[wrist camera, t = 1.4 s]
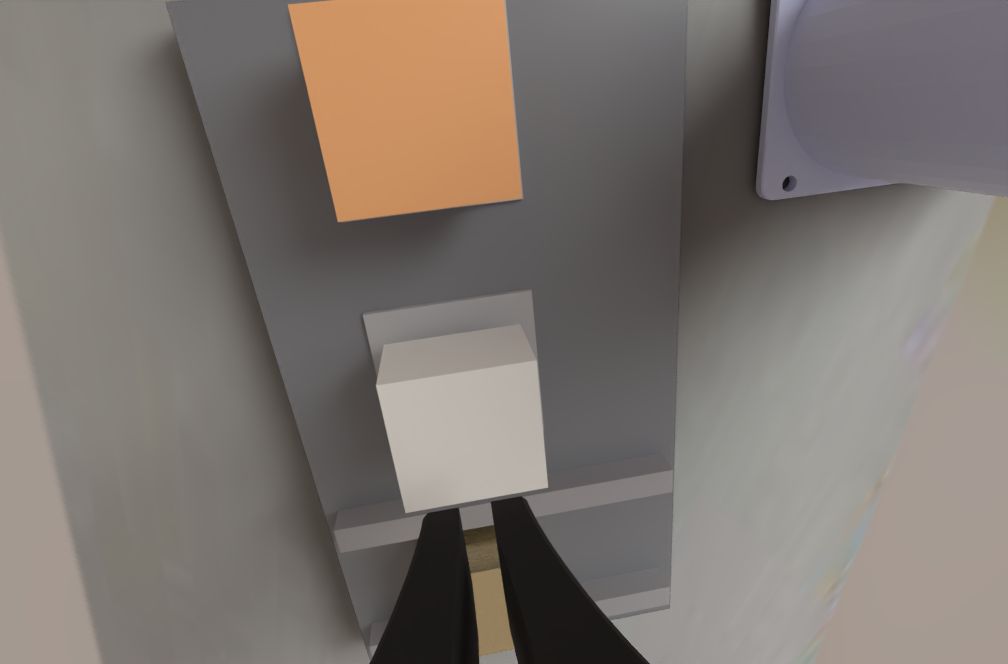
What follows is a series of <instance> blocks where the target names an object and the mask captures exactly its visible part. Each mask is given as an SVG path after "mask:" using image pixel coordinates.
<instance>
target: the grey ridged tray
mask: <svg viewBox="0 0 1008 664" xmlns="http://www.w3.org/2000/svg"><path fill="white" fill-rule="evenodd" d="M319 1H330V0H181V1H170V2H165V3H166V6H167V10H168V13H169V16H170V19H171V22H172V26H173V29H174V32H175V35H176V38H177V42H178V45H179V48H180V51H181V55H182V58H183V61H184V64H185V67H186V71H187V74H188V77H189V80H190V83H191V87H192V90H193V93H194V96H195V100H196V103H197V106H198V109H199V112H200V116H201V119H202V122H203V125H204V128H205V132H206V135H207V138H208V141H209V145H210V148H211V151H212V154H213V157H214V161H215V164H216V167H217V170H218V173H219V177H220V180H221V183H222V186H223V190H224V193H225V196H226V199H227V202H228V206H229V209H230V212H231V215H232V218H233V222H234V225H235V228H236V231H237V235H238V238H239V241H240V244H241V247H242V251H243V254H244V257H245V260H246V263H247V267H248V270H249V273H250V276H251V280H252V283H253V286H254V289H255V292H256V296H257V299H258V302H259V305H260V308H261V312H262V315H263V318H264V321H265V325H266V328H267V331H268V334H269V337H270V341H271V344H272V347H273V350H274V353H275V357H276V360H277V363H278V366H279V370H280V373H281V376H282V379H283V382H284V386H285V389H286V392H287V395H288V398H289V402H290V405H291V408H292V411H293V415H294V418H295V421H296V424H297V427H298V431H299V434H300V437H301V440H302V443H303V447H304V450H305V453H306V456H307V460H308V463H309V466H310V469H311V472H312V476H313V479H314V482H315V485H316V488H317V492H318V495H319V498H320V501H321V505H322V508H323V511H324V514H325V517H326V521H327V524H328V527H329V530H330V533H331V537H332V540H333V543H334V546H335V550H336V553H337V556H338V559H339V562H340V566H341V569H342V572H343V575H344V578H345V582H346V585H347V588H348V591H349V595H350V598H351V601H352V604H353V607H354V611H355V614H356V617H357V620H358V623H359V627H360V630H361V633H362V636H363V640H364V643H365V646H366V649H367V652H368V656H369V659H370V662H371V660H372V657H373V655H374V653H375V651H376V648H377V646H378V644H379V642H380V639H381V637H382V635H383V633H384V630H385V628H386V626H387V624H388V622H389V619H390V617H391V615H392V612H393V610H394V607H395V604H396V602H397V599H398V597H399V594H400V591H401V589H402V586H403V584H404V581H405V578H406V576H407V573H408V570H409V567H410V564H411V561H412V558H413V555H414V552H415V539H418V538H419V534H420V531H421V526H422V521H423V518H424V517H425V516H426V515H427V513H430V512H435V511H441V510H447V509H452V508H458V507H459V511H460V516H461V522H462V528H463V530H468V529H474V528H479V527H485V526H490V525H494V522H493V515H492V508H491V501H497V500H502V499H508V498H513V497H519V496H522V497H523V498H525V499H526V500H527V501H528V504H529V506H530V508H531V510H532V512H533V514H534V516H535V518H536V519H537V521H538V523H539V525H540V526H541V528H542V530H543V531H544V533H545V535H546V536H547V538H548V539H549V541H550V542H551V544H552V546H553V547H554V549H555V550H556V551H557V553H558V554H559V556H560V557H561V559H562V560H563V561H564V563H565V564H566V566H567V567H568V568H569V570H570V571H571V572H572V574H573V575H574V576H575V578H576V579H577V581H578V582H579V583H580V584H581V586H582V587H583V588H584V590H585V591H586V592H587V593H588V595H589V596H590V597H591V598H592V600H593V601H594V602H595V603H596V604H597V606H598V607H599V608H600V609H601V610H602V612H603V613H604V614H605V615H606V616H607V618H608V619H609V620H615V619H620V618H624V617H629V616H634V615H639V614H644V613H649V612H654V611H659V610H664V609H669V608H670V588H671V553H672V519H673V484H674V449H675V415H676V380H677V345H678V311H679V276H680V241H681V207H682V172H683V137H684V103H685V68H686V33H687V0H504V4H505V15H506V26H507V37H508V48H509V59H510V70H511V81H512V92H513V103H514V114H515V125H516V137H517V148H518V159H519V170H520V181H521V192H522V198H519V199H512V200H504V201H496V202H489V203H481V204H473V205H466V206H458V207H450V208H443V209H435V210H427V211H420V212H412V213H404V214H397V215H389V216H381V217H374V218H366V219H358V220H351V221H343V222H338V220H337V215H336V211H335V207H334V203H333V198H332V194H331V190H330V185H329V181H328V177H327V172H326V168H325V164H324V159H323V155H322V151H321V146H320V142H319V138H318V133H317V129H316V125H315V121H314V116H313V112H312V108H311V103H310V99H309V95H308V90H307V86H306V82H305V77H304V73H303V69H302V64H301V60H300V56H299V51H298V47H297V43H296V39H295V34H294V30H293V26H292V21H291V17H290V13H289V8H288V4H298V3H309V2H319ZM517 324H520V325H521V327H522V329H523V331H524V333H525V336H526V338H527V340H528V342H529V344H530V347H531V349H532V351H533V353H534V355H535V358H536V360H537V369H538V380H539V391H540V402H541V413H542V424H543V435H544V447H545V458H546V469H547V480H548V488H543V489H537V490H532V491H526V492H521V493H515V494H509V495H504V496H498V497H493V498H487V499H482V500H476V501H470V502H465V503H459V504H454V505H448V506H442V507H437V508H431V509H426V510H420V511H415V512H409V513H405V509H404V505H403V500H402V496H401V492H400V487H399V483H398V479H397V474H396V470H395V466H394V461H393V457H392V453H391V448H390V444H389V440H388V436H387V431H386V427H385V423H384V418H383V414H382V410H381V405H380V401H379V397H378V392H377V388H376V383H377V378H378V372H379V367H380V362H381V357H382V352H383V346H384V345H385V344H392V343H398V342H405V341H411V340H418V339H425V338H431V337H438V336H445V335H451V334H458V333H464V332H471V331H478V330H484V329H491V328H497V327H504V326H511V325H517Z"/></svg>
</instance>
